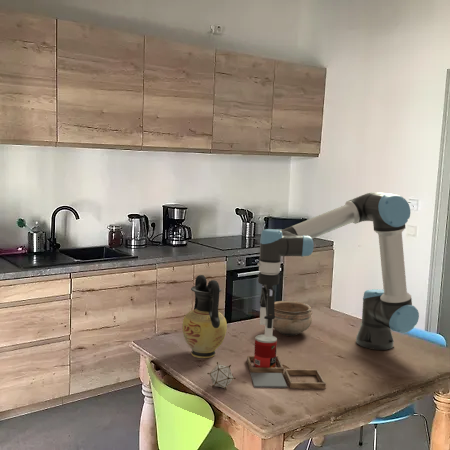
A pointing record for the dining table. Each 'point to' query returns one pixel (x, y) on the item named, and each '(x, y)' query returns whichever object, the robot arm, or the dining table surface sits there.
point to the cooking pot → (292, 317)
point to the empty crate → (304, 384)
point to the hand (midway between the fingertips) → (265, 330)
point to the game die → (221, 376)
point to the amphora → (204, 320)
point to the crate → (265, 370)
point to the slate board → (268, 380)
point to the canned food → (265, 351)
